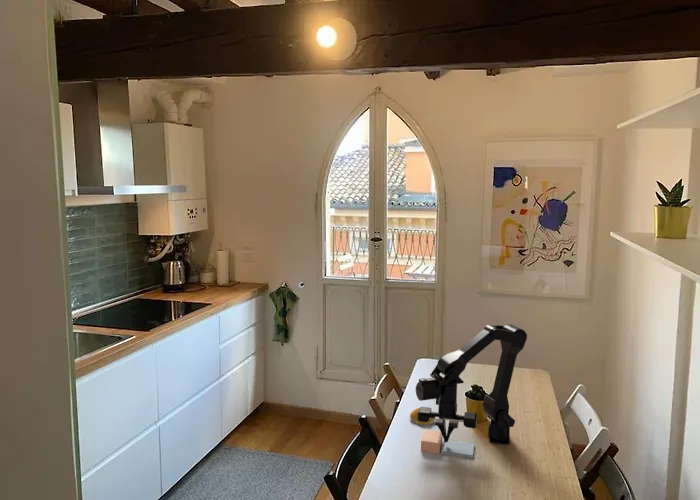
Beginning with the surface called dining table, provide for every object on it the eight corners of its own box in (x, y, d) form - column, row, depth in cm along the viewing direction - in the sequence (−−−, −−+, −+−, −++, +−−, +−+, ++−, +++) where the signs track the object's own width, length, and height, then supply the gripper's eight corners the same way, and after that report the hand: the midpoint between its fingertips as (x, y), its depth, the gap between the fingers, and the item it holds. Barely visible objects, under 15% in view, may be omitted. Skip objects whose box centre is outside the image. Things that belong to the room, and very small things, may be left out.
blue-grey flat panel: (474, 446, 179) (474, 442, 179) (472, 458, 172) (472, 454, 172) (443, 441, 182) (443, 438, 182) (440, 453, 174) (441, 450, 174)
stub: (442, 441, 182) (442, 431, 182) (439, 453, 175) (439, 442, 174) (424, 439, 184) (424, 429, 183) (420, 450, 176) (421, 440, 176)
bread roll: (424, 428, 192) (425, 418, 191) (406, 419, 199) (406, 409, 198) (440, 421, 197) (440, 411, 197) (421, 413, 204) (421, 403, 203)
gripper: (478, 390, 180) (476, 434, 183) (422, 383, 185) (421, 427, 188) (476, 403, 170) (474, 450, 172) (417, 396, 175) (416, 442, 177)
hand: (446, 441), depth 177 cm, fingers closed
